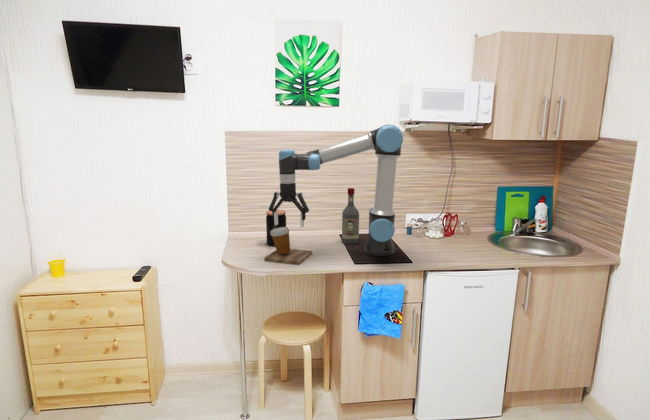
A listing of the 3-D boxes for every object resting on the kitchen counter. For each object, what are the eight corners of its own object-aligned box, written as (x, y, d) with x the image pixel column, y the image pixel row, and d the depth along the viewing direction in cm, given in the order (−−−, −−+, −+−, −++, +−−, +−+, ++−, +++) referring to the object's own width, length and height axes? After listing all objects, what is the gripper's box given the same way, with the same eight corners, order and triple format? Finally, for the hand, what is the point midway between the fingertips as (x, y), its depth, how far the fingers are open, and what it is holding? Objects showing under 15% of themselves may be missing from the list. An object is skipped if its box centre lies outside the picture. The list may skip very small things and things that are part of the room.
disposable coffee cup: (291, 254, 212) (286, 231, 209) (272, 256, 213) (267, 233, 211) (295, 248, 221) (290, 225, 218) (277, 250, 223) (272, 228, 220)
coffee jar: (262, 245, 237) (262, 212, 233) (274, 240, 246) (273, 208, 242) (279, 247, 232) (278, 214, 228) (290, 242, 241) (289, 210, 237)
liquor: (342, 239, 248) (342, 187, 242) (358, 239, 248) (359, 187, 241) (341, 243, 239) (342, 189, 233) (358, 244, 239) (359, 190, 232)
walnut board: (312, 253, 222) (312, 250, 222) (299, 265, 206) (299, 261, 205) (279, 250, 228) (279, 247, 227) (264, 261, 211) (264, 258, 211)
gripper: (260, 182, 209) (262, 225, 213) (309, 184, 201) (310, 229, 206) (267, 180, 216) (269, 222, 220) (314, 182, 208) (315, 225, 213)
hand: (289, 225), depth 213 cm, fingers open, 13 cm apart
